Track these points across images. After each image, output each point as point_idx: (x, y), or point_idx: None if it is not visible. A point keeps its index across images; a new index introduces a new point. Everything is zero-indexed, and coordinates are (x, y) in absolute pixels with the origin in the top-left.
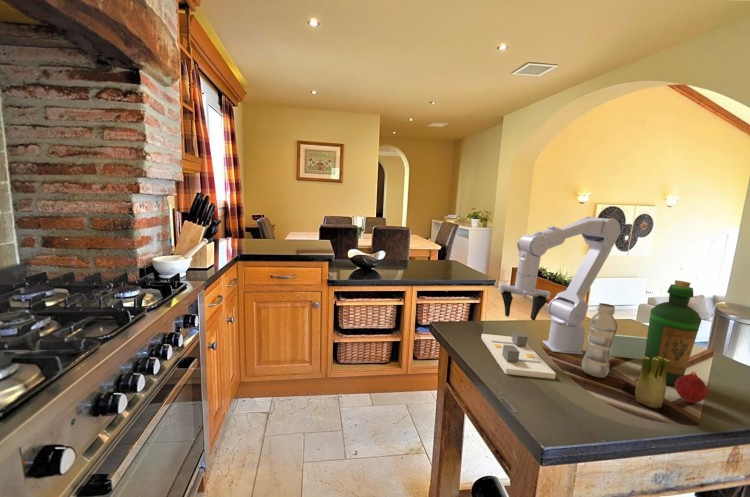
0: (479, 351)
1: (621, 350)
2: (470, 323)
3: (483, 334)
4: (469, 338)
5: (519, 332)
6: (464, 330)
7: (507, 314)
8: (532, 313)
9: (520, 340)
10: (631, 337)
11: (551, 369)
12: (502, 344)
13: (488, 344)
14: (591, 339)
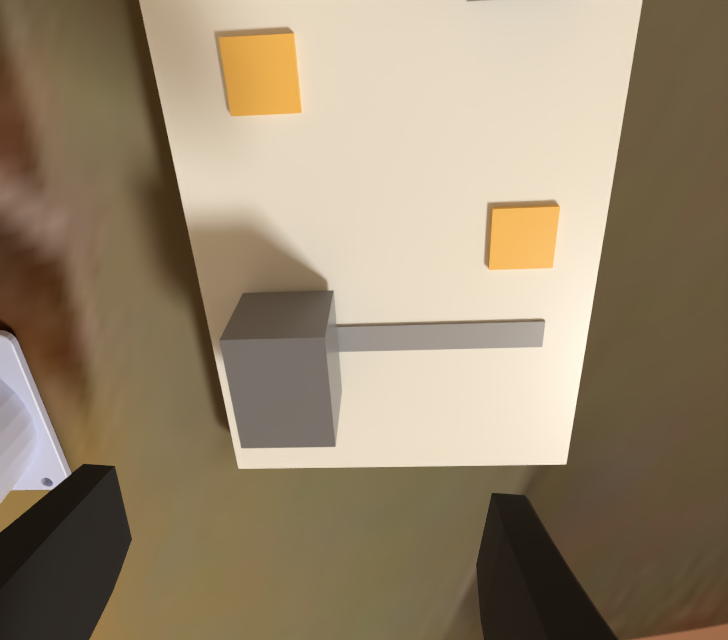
0: (706, 165)
1: None
2: None
3: (556, 453)
4: (666, 408)
5: (274, 437)
6: (636, 531)
7: (533, 518)
8: (77, 593)
9: (295, 315)
10: None
11: None
12: (458, 294)
13: (592, 276)
14: None
